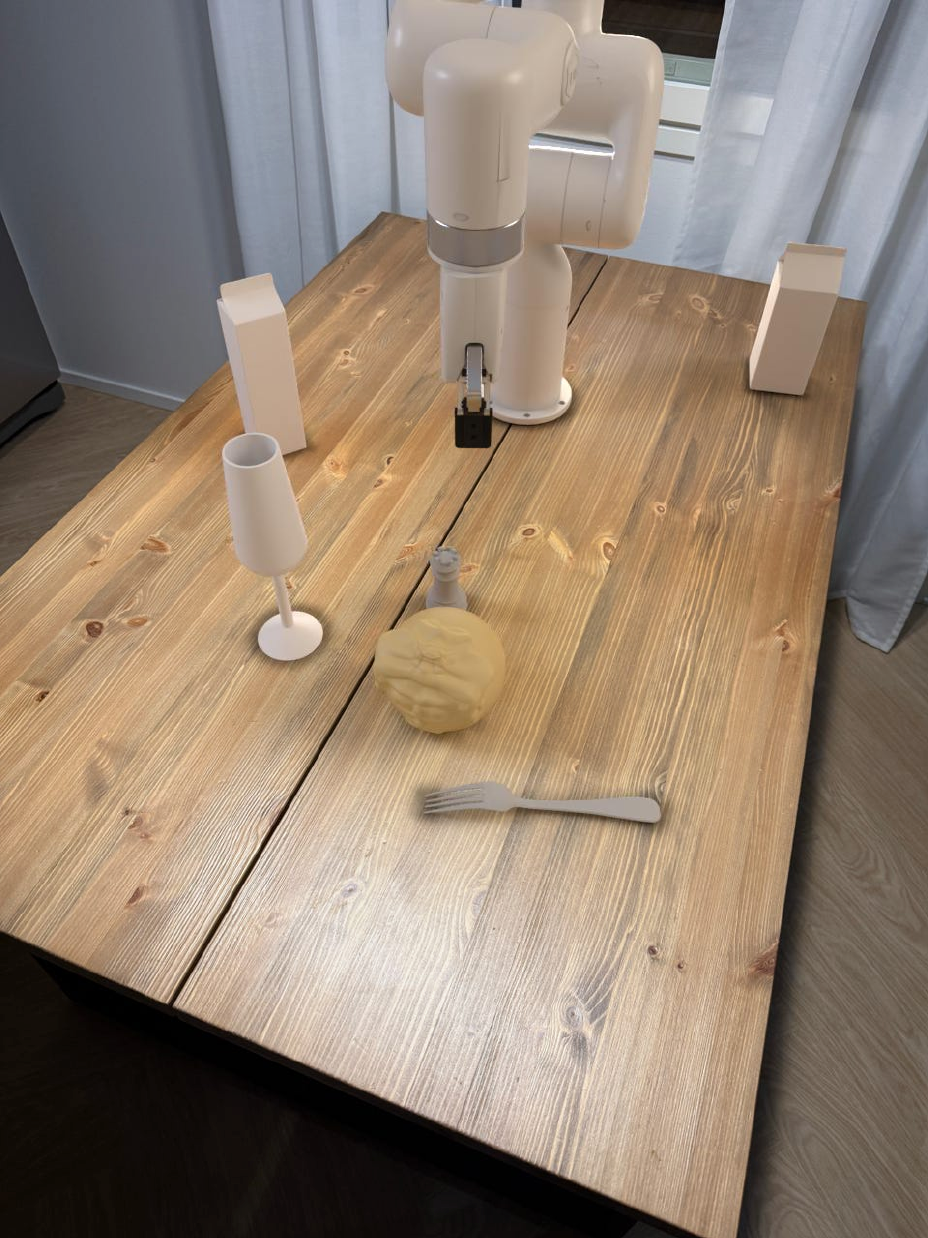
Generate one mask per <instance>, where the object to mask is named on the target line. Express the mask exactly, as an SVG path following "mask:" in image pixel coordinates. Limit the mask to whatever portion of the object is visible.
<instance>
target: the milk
mask: <svg viewBox="0 0 928 1238" xmlns="http://www.w3.org/2000/svg"><path fill="white" fill-rule="evenodd" d="M273 279H274V277H273V275H272V273H271V272H266V273H262V274H258V275H255V276H250V277H246V278H242V279H238V280H233V281H230V282H226V283H222V284H221V285H220V286H219V291H220V295H221V298H218V299H217V300H216V305H217V310H218V314H219V319H220V323H221V327H222V333H223V337H224V342H225V346H226V349H227V350H226V352H227V355H228V360H229V365H230V369H231V374H232V377H233V383H234V387H235V391H236V393H235V394H236V397H237V403H238V406H239V410H240V415H241V418H242V419H241V420H242V425H243V429H244V434H246V433H263V434H267V435H269V436H271V437H273V438H274V439H276V441H277V442H278V444H279V447H280V450H281V453H282V456H285V455H288V454H291V453H294V452H297V451H300V450H304V449H306V448H307V440H306V435H305V427H304V422H303V415H302V409H301V401H300V395H299V390H298V382H297V376H296V370H295V364H294V363H295V362H294V357H293V352H292V344H291V338H290V331H289V326H288V320H287V311H286V309H285V307H284V305H283V302H282V300H281V298H280V296H279V294H278V292H277V290H276V287H275V285H274V280H273Z"/></svg>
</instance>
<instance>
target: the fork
mask: <svg viewBox="0 0 928 1238" xmlns="http://www.w3.org/2000/svg"><path fill="white" fill-rule="evenodd" d="M455 792H457V793H455ZM447 793H448V794H447ZM449 793H452V794H449ZM442 794H447V795H443V796H439V797H435V798H431V799H428V800H425V801H424V803H431V802H436V803H433V804H429V805H425V806H424V808H432V807H433V808H434V807H439V806H446V807H440V808H437V809H432V810H426V811H424V812H423V814H432V813H442V812H443V813H444V812H451V811H452V812H453V811H462V810H487V811H495V812H508V811H509V810H510V809H512V808H515V807H517V808H524V809H534V810H544V811H555V812H557V811H558V812H569V813H571V812H572V813H581V814H588V815H589V814H590V815H596V816H602V817H610V818H615V819H621V820H628V821H635V822H641V823H651V824H656V823H657V822H659V821H660V819H661V818H662V814H661V807H660V805H659V803H658V802H657V801H656V800H654V799H653V798H651V797H644V796H636V795H635V796H634V795H633V796H615V797H604V798H590V799H567V800H563V799H562V800H561V799H560V800H559V799H558V800H557V799H555V800H553V799H552V800H549V799H548V800H547V799H530V798H523V797H521V796H516V795H515V794H514V793H513V792H511V791H510V789H509V788H508V786H507V785H505V784H504V783H501V782H495V781H480V782H472V783H467V784H462V785H459V786H454V787H450V788H446V789H442V790H439V791H436V792H433V793H432V792H431V793H429V794H425V795H424V797H425V798H427V797H432V796H437V795H442ZM443 800H445V801H443ZM437 801H441V802H437ZM455 804H457V805H455ZM447 805H451V806H447Z"/></svg>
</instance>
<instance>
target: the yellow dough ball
mask: <svg viewBox="0 0 928 1238" xmlns="http://www.w3.org/2000/svg"><path fill="white" fill-rule="evenodd" d="M506 662H507V661H506V655H505V650H504V648H503V644H502V642H501V640H500V637H499V636H498V635H497V633H496V632H495V631H494V629H493V628H492V627H491V626H490V625H489V624H488V623H487V622H486V621H485V620H484V619H482V618H481V617H479V616H478V615H476V614H474V613H472V612H470V611H468V610H466V611H465V610H462V609H459V608H454V607H434V608H429V609H426V608H425V609H423V610H420V611H418V612H416V613H414V614H412V615H410V616H409V617H408V618H407V619H405V620H404V622H402V623H401V624H400V625H399V626H398V627H397V628H396V629H390V630H388V631H386V632H384V633H382V634H381V635H380V636H379V637H378V639H377V642H376V647H375V653H374V661H373V664H372V673H373V677H374V679H375V682H374V684H375V687H376V690H377V691H378V692H380V693H383V694H384V695H385V697H386V699H387V700H388V701H389V702H390V704H392V706H393V707H394V708H395V709H396V710H397V711H398V712H399V713H400V714H401V716H403V717H404V720H405V722H406V723H407V724H408V725H410V726H411V727H413V728H415V729H419V730H421V731H423V732H427V733H431V734H436V735H440V734H443V733H446V732H457V731H461V730H464V729H467V728H469V727H472V726H473V725H475V724H476V723H478V722H480V721H481V720H482V719H483V718H485V717H486V715H488V713H489V712H490V711H491V710H492V709H493V708H494V706H495V705H496V703H497V701H498V699H499V698H500V695H501V693H502V690H503V687H504V683H505V678H506V673H507V672H506V671H507V664H506Z"/></svg>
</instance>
